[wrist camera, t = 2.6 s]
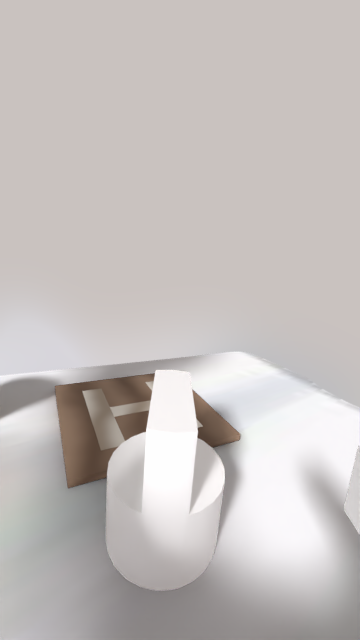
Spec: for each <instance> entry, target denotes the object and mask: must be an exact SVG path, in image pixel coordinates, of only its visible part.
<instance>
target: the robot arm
mask: <svg viewBox="0 0 360 640" xmlns="http://www.w3.org/2000/svg"><path fill="white" fill-rule="evenodd" d="M343 510H344V511H345V513H346V514H347V516H348V517H349V519H350V521H351V522H352V524H353V525H354V527H355V528H356V530H357V532H358V533H359V535H360V446H358V449H357V454H356V458H355V462H354V466H353V470H352V475H351V479H350V483H349V487H348V492H347V496H346V500H345V504H344V509H343Z"/></svg>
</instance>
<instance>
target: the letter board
mask: <svg viewBox="0 0 360 640" xmlns="http://www.w3.org/2000/svg"><path fill="white" fill-rule="evenodd" d="M154 377H155V373H153V374H146V375H138V376H130V377H122V378H114V379H106V380H98V381H90V382H82V383H74V384H66V385H58V386H55V394H56V401H57V409H58V416H59V424H60V432H61V439H62V447H63V454H64V462H65V469H66V477H67V485H68V488H71V487H74V486H78V485H81V484H85V483H88V482H92V481H95V480H99V479H103V478H106V477H107V470H108V462H109V460H110V458H111V456H112V454H113V452H114V451H115V450H116V449H117V448H118V447H119V446H120V445H121V444H122V443H123V442H125V441H126V440H128V439H129V438H131V437H133V436H135V435H138V434H141V433H143V432H146V428H147V422H148V415H149V409H150V402H151V396H152V389H153V383H154ZM192 392H193V399H194V406H195V414H196V421H197V428H198V436H197V438H199V439H201V440H203V441H204V442H205V443H207V444H208V445H209V446H211V447H216V446H220V445H223V444H227V443H230V442H234V441H237V440H240V433H238V432H237V431H236V430H235V429H234V428H233V427H232V426H231V425H230V424H229V423H228V422H227V421H226V420H224V419H223V418H222V417H221V416H220V415H219V414H218V413H217V412H216V411H215V410H214V409H213V408H212V407H211V406H209V405H208V404H207V403H206V402H205V401H204V400H203V399H202V398H201V397H200V396H199V395H198V394H197V393H195V392H194V391H193V390H192Z"/></svg>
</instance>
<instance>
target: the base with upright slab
mask: <svg viewBox="0 0 360 640" xmlns="http://www.w3.org/2000/svg"><path fill="white" fill-rule="evenodd" d="M197 436H198V428H197V421H196V414H195V406H194V399H193V392H192V385H191V378H190V372H186V371H178V370H155V377H154V383H153V389H152V396H151V402H150V409H149V415H148V422H147V428H146V432H143V433H141V434H138V435H135V436H133V437H131V438H129V439H128V440H126V441H125V442H123V443H122V444H121V445H120V446H119V447H118V448H117V449H116V450H115V451H114V452H113V454H112V456H111V458H110V460H109V462H108V470H107V495H106V537H105V540H106V545H107V551H108V555H109V557H110V559H111V561H112V563H113V565H114V567H115V568H116V569H117V570H118V571H119V572H120V573H121V574H122V575H123V577H124V578H125V579H126V580H128V581H130V582H132V583H133V584H135V585H137V586H139V587H141V588H144V589H150V590H155V591H166V590H174V589H178V588H180V587H183V586H185V585H187V584H189V583H192V582H193V581H194V580H195V579H196V578H198V577H199V576H200V575H201V574H202V573H203V572H204V571H205V570H206V568H207V566H208V565H209V563H210V561H211V560H212V558H213V555H214V551H215V547H216V543H217V536H218V528H219V521H220V514H221V506H222V499H223V492H224V484H225V470H224V466H223V463H222V461H221V459H220V457H219V456H218V454H217V453H216V452H215V450H214V449H213V448H212V447H211V446H209V445H208V444H207V443H205V442H204V441H203V440H201V439H199V438H197Z"/></svg>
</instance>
